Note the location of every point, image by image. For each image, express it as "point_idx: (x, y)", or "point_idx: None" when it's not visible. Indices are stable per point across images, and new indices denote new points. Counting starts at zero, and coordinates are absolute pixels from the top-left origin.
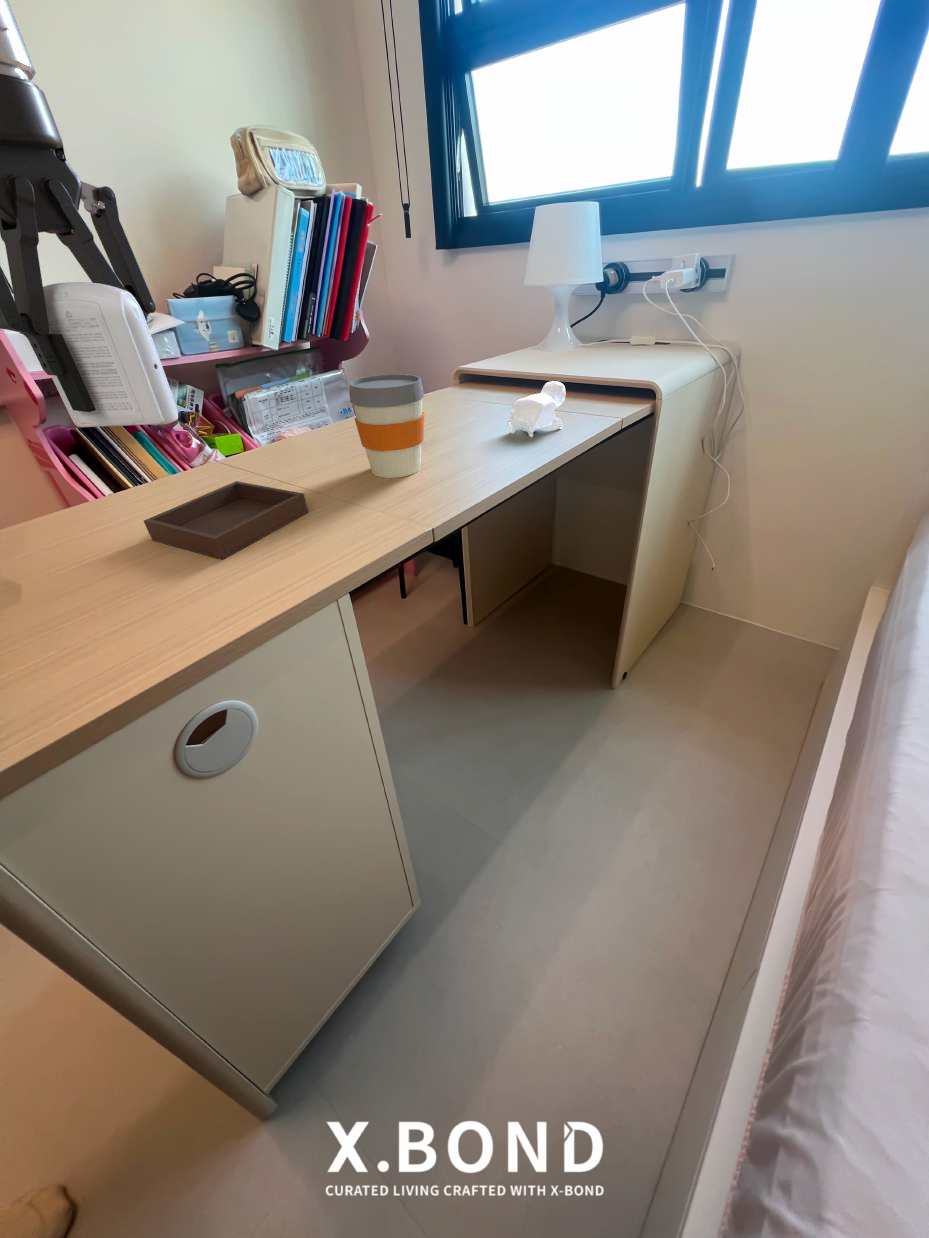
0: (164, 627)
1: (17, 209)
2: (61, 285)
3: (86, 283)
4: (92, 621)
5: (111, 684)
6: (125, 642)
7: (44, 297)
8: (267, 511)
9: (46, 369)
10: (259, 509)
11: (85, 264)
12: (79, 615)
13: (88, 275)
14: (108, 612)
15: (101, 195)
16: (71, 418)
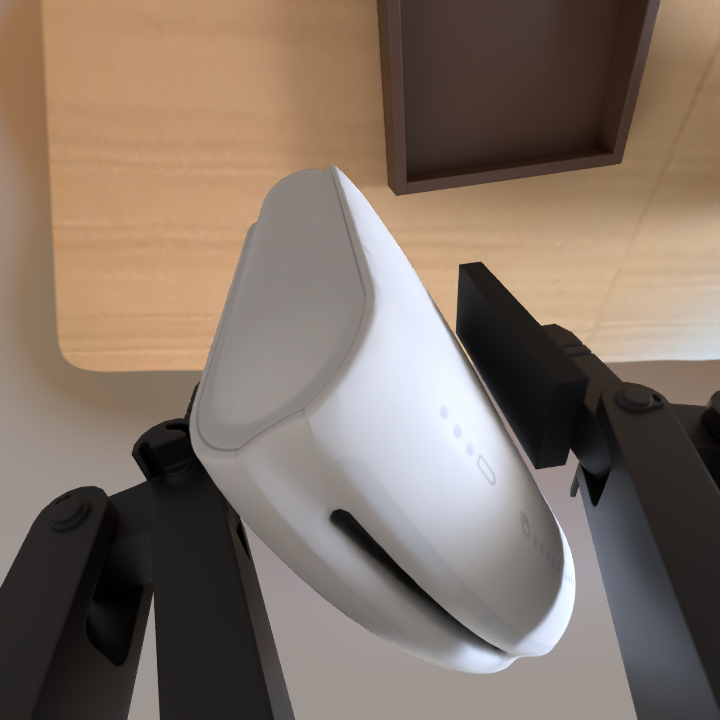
0: None
1: None
2: (397, 644)
3: (470, 672)
4: (167, 186)
5: (156, 339)
6: (189, 279)
7: (272, 635)
8: (523, 175)
9: None
10: (580, 49)
11: (681, 704)
12: (154, 145)
13: (675, 600)
14: (193, 181)
15: None
16: (247, 232)
